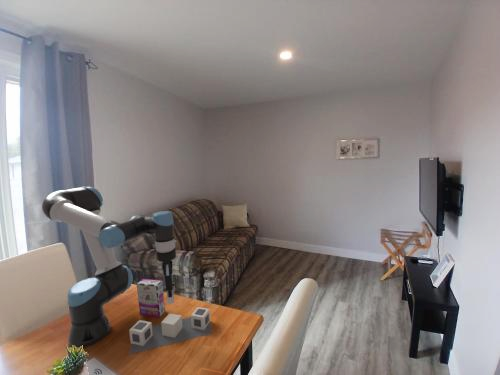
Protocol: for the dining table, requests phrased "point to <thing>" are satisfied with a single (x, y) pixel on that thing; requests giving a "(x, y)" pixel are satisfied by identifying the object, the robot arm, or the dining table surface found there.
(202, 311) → the marked block
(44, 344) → the dining table surface
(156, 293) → the candy bar box
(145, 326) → the marked block
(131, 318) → the dining table surface
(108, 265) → the robot arm
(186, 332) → the grey mat
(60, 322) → the dining table surface
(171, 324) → the plain block
